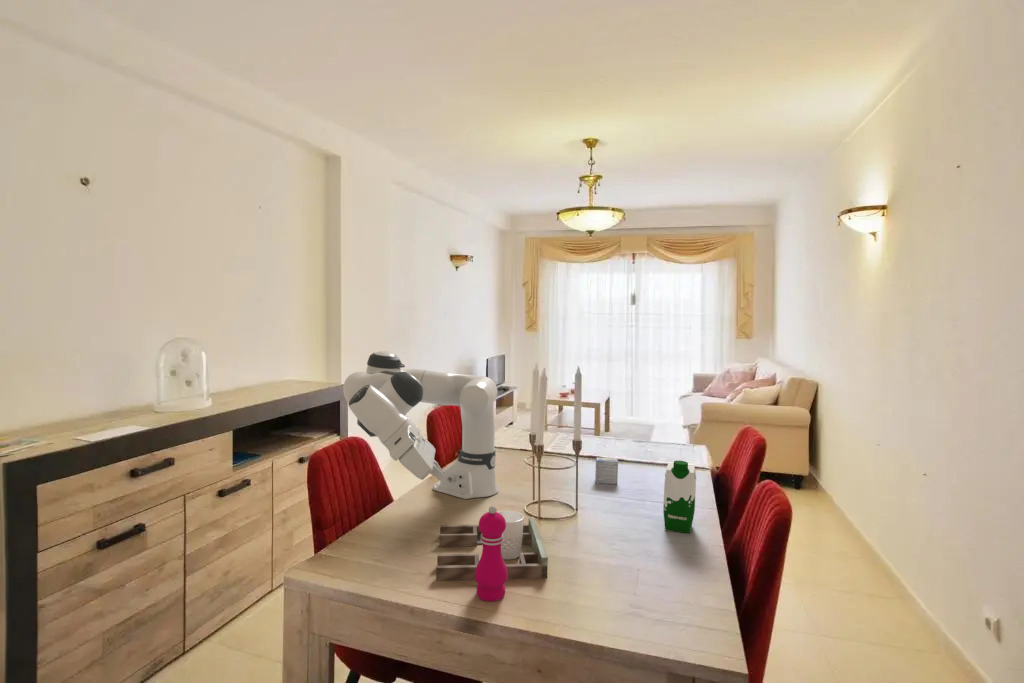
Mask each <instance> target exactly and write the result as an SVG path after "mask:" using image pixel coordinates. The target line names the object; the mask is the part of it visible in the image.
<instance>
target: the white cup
mask: <svg viewBox="0 0 1024 683" xmlns="http://www.w3.org/2000/svg"><path fill="white" fill-rule="evenodd" d="M497 512H498V513H500V514H501V515H502V516H503V517H504V518H505V521H506V528H505V530H504V532H503V533H502V534H503V542H502V543H501V554H502V557H503V560H514V559H517V558H518V559H519V555H522V554H521V553H522V546H523V545H522V537H523V524H524V520H525V516H524V515H523V513H521V512H519V511H516V510H501V511H497Z"/></svg>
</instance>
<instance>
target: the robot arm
mask: <svg viewBox="0 0 1024 683" xmlns="http://www.w3.org/2000/svg"><path fill="white" fill-rule="evenodd" d="M366 364H367V366H366V370H365V372H364V371H356V372H352V373H350V374H349V375H348V376H347V377H346V379H345V380H344V382H343V387H342V388H343V389H342V391H343V396H344V399H345V401H346V403H347V404H348V408H349V410H350V411H351V413H353V415H354V416H355V417H356V419H357V421H356V424H357V425H358V426H359V427H360V428H361V429H362V431H364V433H367V435H368V436H369V437H370V438H372V437H374V438H375V437H377V438H378V440H379V442H380V443H381V444H382V445H383V446H384V447H385V448H386V449H387V450H388V454H389V456H390V458H391V459H392V460H394V461H395V462H397V461H398V462H399V463H400V464H401V465H402V466H403V467H404V468H405V469H406V470H407V471H408V472H410V473H412V475H414V476H415V477H416V478H418V479H419V480H422V481H423V480H424V479H425V478H427V477H428V476H429V475H432V476H433V477H435V478H436V479H437V480H438V481H437V482H436V483H435V484H434V485H433V491H436V492H439V493H444V494H447V495H451V496H453V497H457V498H460V499H464V500H465V499H466V500H467V499H473V498H485V497H486V498H487V497H490V496H493V495H496V494H497V493H498V492H499V488H498V484H497V480H496V470H495V469H496V468H495V467H496V460H497V458H496V449H495V439H496V438H495V437H496V436H495V434H496V433H495V432H496V431H495V430H496V427H495V419H494V417H495V416H494V402H495V401H496V400H497V397H498V387H497V384H496V382H495V381H494V380H493V379H492V378H490V377H488V376H483V375H474V374H462V373H461V374H460V373H448V372H447V373H446V372H440V371H434V370H426V369H419V368H417V369H416V368H406V369H405V367H406V366H405V364H403V363H402V361H401V359H400V358H399V357H398V356H397V355H395V354H393V353H392V352H390V351H385V350H384V351H383V350H382V351H377V352H373V353H371V354H370V355H369V356H368V358H367V362H366ZM401 368H404V369H401ZM419 403H424V404H432V405H438V406H439V405H440V406H460V417H461V425H462V426H461V427H462V432H461V433H462V436H461V437H462V441H461V442H462V445H461V449H459V450H458V451H457V452H455V455H454V456H455V457H457V459H456V460H455V461H453V462H452V463H451V464H449V465H448V466H446V467H445V468H444V469H443V468H441V466H440V465H439V462H438V461H436V460H435V457H436V456H435V455H436V448H435V446H434V445H433V444H432V443H431V442H430V441H428V440H427V439H426V438H425V437H424V436H423V435H422V434H421V431H422V430H421V429H420V428H419V427H418V426H417V425H416V424H415V423H414V422H413V421H412V419H410V418H409V417H408V416H407V414H408V413H409V412H410V411H411V410H413V408H414V407H416V406H417V405H418V404H419Z"/></svg>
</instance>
